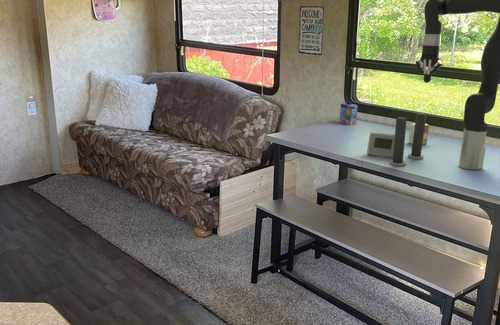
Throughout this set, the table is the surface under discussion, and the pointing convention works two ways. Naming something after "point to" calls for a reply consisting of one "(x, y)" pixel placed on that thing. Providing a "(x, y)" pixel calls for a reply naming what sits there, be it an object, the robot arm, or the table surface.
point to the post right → (418, 137)
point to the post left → (399, 142)
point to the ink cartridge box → (348, 113)
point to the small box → (411, 133)
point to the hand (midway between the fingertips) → (426, 82)
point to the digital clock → (381, 144)
